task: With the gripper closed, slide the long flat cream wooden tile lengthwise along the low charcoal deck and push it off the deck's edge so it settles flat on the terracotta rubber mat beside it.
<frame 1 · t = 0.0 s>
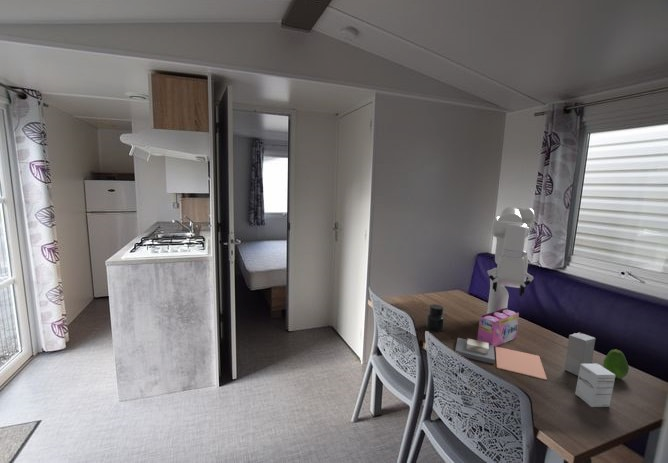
hand: (507, 292, 139), 31 cm above the table, tool pointing down, fingers open, 9 cm apart
ink bottle: (434, 328, 174), on the table
deck: (474, 351, 151), on the table
tile: (477, 348, 150), point 2 cm above the table, touching deck
avocado: (613, 377, 135), on the table
gum box: (496, 340, 164), on the table
mat: (518, 362, 144), on the table
supplement box: (591, 401, 119), on the table
skincare box: (576, 371, 138), on the table
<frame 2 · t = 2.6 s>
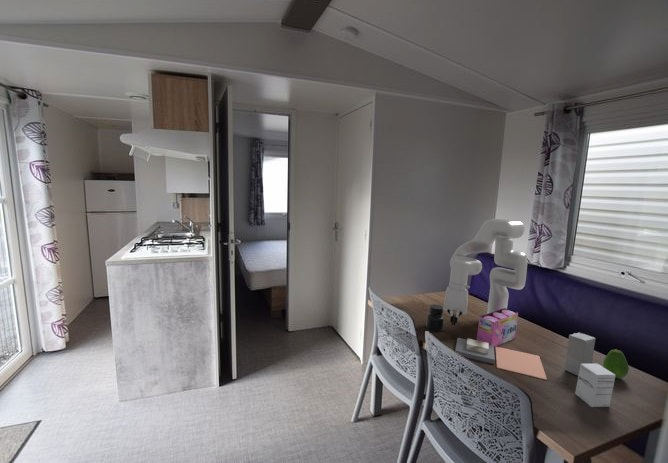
hand: (453, 323, 153), 12 cm above the table, tool pointing down, fingers closed
nothing on the table moved.
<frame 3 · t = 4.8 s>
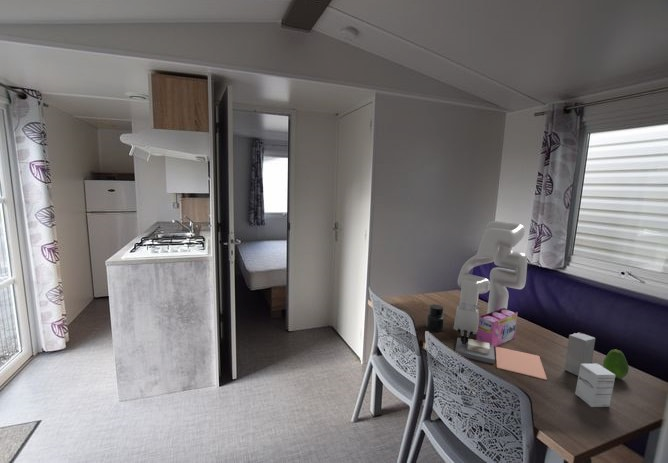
hand: (464, 343, 152), 3 cm above the table, tool pointing down, fingers closed
tile: (478, 348, 150), point 2 cm above the table, touching deck, gripper
everything else where it was.
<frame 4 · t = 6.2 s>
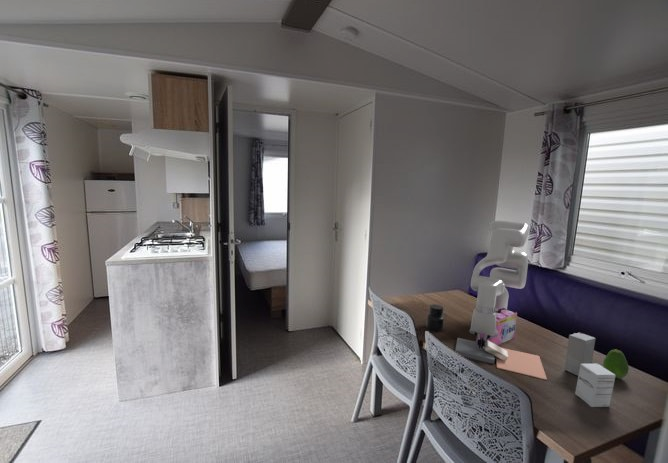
hand: (480, 346, 149), 3 cm above the table, tool pointing down, fingers closed
tile: (494, 352, 147), point 2 cm above the table, tilted 20°, touching mat
everything else where it was.
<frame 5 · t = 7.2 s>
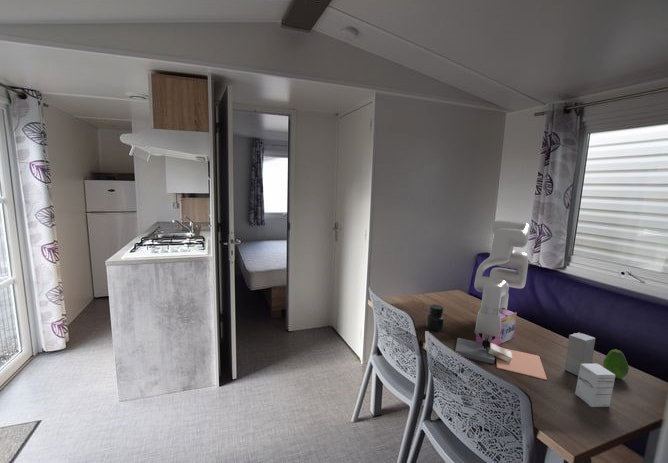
hand: (485, 348, 149), 3 cm above the table, tool pointing down, fingers closed
tile: (498, 354, 146), point 2 cm above the table, tilted 14°, touching gripper
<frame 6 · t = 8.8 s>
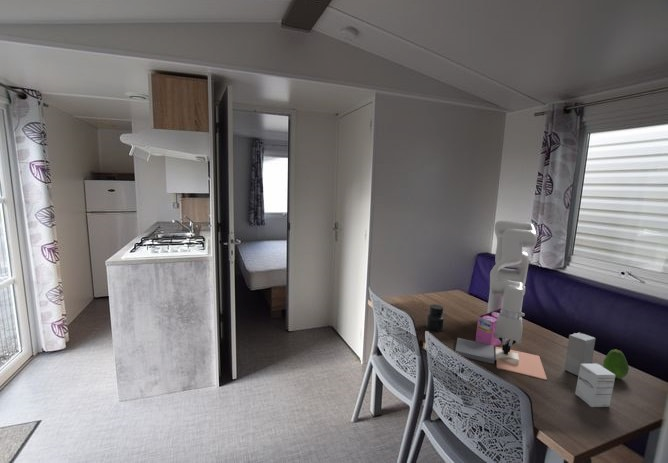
hand: (505, 352, 145), 3 cm above the table, tool pointing down, fingers closed
tile: (506, 359, 145), resting on mat
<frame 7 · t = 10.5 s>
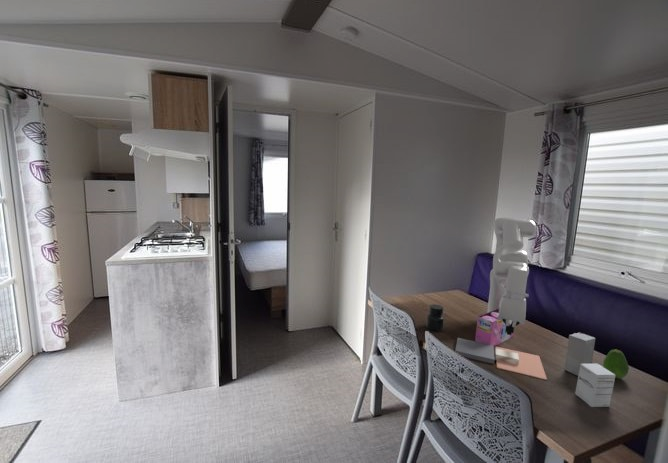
hand: (509, 333, 145), 12 cm above the table, tool pointing down, fingers closed
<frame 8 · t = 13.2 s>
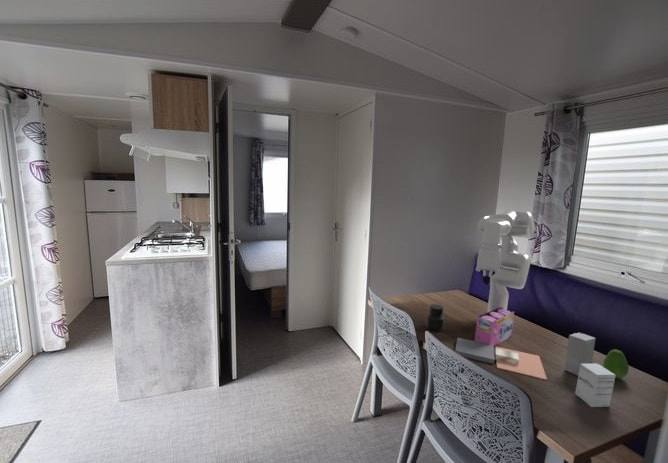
hand: (486, 283, 158), 29 cm above the table, tool pointing down, fingers closed
at the end: tile inside the target area (5.0 cm from its centre), resting on mat; tile tilted 0° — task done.
